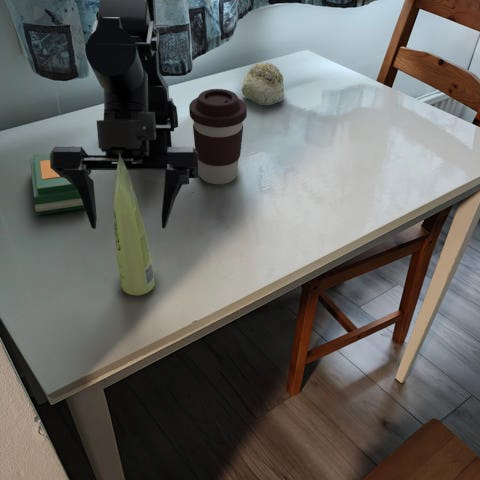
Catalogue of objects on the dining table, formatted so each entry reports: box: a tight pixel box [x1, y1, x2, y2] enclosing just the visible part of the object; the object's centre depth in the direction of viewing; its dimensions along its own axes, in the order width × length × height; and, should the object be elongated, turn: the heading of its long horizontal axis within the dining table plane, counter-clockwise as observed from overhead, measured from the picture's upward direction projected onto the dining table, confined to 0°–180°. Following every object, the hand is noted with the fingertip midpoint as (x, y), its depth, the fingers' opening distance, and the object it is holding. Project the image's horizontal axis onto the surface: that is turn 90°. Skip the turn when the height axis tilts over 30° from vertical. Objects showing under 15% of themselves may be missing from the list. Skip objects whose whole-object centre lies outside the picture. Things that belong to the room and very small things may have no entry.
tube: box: [113, 153, 156, 296], centre depth 71 cm, size 6×5×20 cm
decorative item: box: [241, 62, 285, 106], centre depth 121 cm, size 12×9×10 cm
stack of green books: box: [29, 152, 85, 216], centre depth 92 cm, size 8×15×5 cm, turn 18°
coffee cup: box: [188, 88, 248, 185], centre depth 94 cm, size 10×10×15 cm
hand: (128, 228), depth 70 cm, fingers open, 9 cm apart
